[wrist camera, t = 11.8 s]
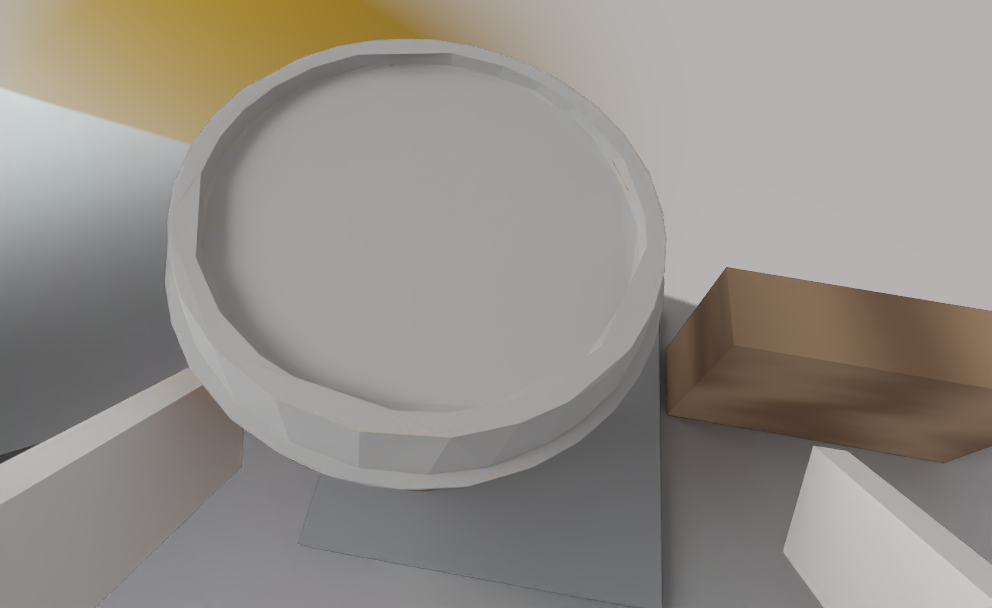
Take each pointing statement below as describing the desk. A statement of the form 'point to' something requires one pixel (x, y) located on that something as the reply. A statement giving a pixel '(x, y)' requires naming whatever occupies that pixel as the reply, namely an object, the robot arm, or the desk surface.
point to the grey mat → (526, 515)
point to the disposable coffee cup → (414, 263)
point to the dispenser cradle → (835, 366)
